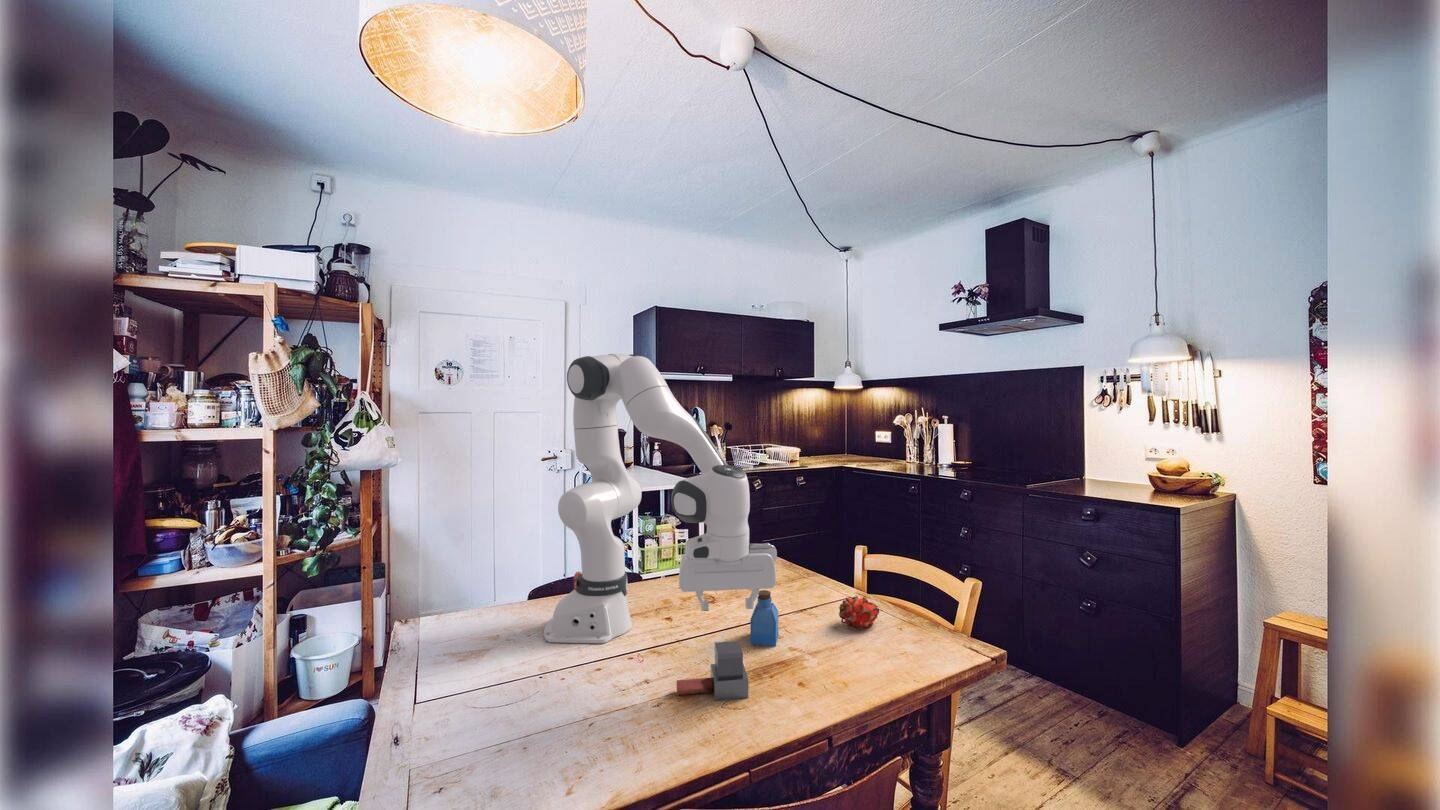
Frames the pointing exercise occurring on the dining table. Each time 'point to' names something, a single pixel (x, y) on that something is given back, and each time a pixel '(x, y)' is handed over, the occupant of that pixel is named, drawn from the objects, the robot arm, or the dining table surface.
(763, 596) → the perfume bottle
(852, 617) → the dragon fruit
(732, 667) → the grey block
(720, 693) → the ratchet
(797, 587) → the dining table surface
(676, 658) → the dining table surface
